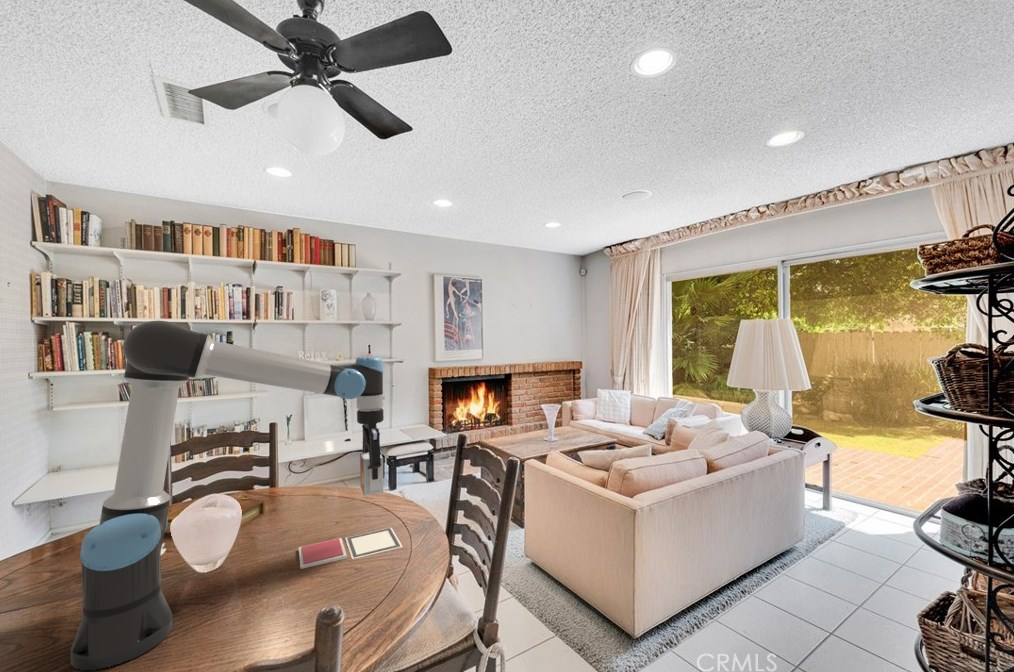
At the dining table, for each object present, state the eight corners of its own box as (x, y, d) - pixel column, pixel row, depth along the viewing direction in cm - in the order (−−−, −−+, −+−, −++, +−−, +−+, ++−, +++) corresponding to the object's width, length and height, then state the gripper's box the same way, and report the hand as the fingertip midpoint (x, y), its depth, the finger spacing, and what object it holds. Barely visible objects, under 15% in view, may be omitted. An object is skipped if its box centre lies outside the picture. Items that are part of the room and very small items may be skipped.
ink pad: (346, 559, 119) (346, 554, 119) (300, 571, 113) (300, 565, 113) (341, 541, 129) (341, 536, 129) (298, 551, 123) (298, 546, 123)
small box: (360, 487, 130) (359, 452, 130) (379, 484, 132) (378, 450, 132) (363, 496, 123) (363, 459, 122) (383, 493, 125) (383, 457, 125)
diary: (265, 515, 149) (264, 499, 149) (219, 541, 131) (219, 522, 131) (208, 511, 153) (208, 495, 153) (157, 536, 135) (156, 517, 135)
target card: (402, 547, 125) (402, 545, 125) (352, 560, 118) (352, 558, 118) (391, 528, 137) (391, 526, 137) (345, 539, 130) (345, 537, 130)
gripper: (391, 413, 120) (392, 494, 120) (376, 402, 138) (377, 472, 138) (363, 416, 116) (364, 499, 116) (351, 404, 134) (353, 476, 135)
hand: (371, 484), depth 127 cm, fingers closed on small box, 8 cm apart
